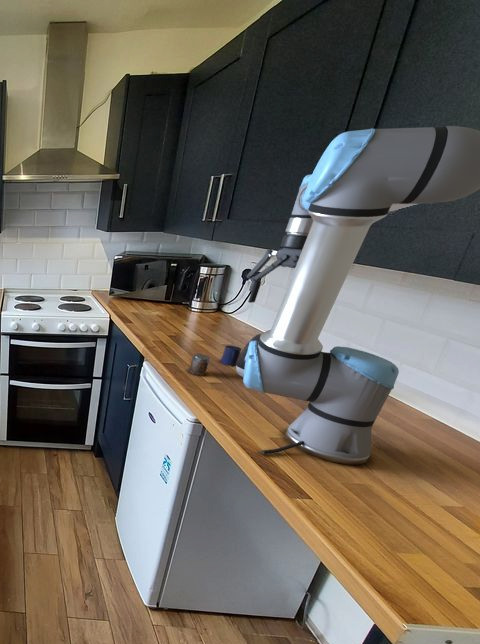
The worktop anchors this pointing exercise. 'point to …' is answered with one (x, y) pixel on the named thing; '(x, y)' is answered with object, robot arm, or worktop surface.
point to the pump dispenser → (244, 357)
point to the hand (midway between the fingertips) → (274, 306)
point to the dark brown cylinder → (199, 364)
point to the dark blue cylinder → (230, 355)
